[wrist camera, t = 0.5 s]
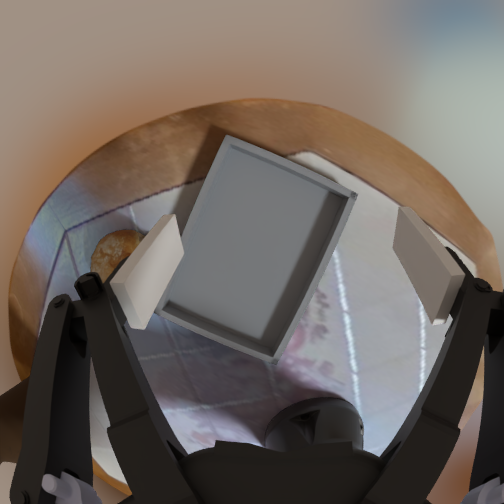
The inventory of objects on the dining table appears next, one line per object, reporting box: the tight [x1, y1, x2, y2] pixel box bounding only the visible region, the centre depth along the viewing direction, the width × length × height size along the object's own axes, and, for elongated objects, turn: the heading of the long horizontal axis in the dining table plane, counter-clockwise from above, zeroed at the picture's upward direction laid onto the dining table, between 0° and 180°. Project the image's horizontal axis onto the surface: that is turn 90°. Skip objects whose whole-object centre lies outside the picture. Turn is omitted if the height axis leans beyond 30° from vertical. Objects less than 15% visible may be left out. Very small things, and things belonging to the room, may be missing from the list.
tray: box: [154, 135, 358, 365], centre depth 31 cm, size 22×16×3 cm
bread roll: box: [91, 230, 145, 283], centre depth 31 cm, size 10×10×8 cm
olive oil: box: [0, 376, 30, 464], centre depth 24 cm, size 11×11×25 cm
